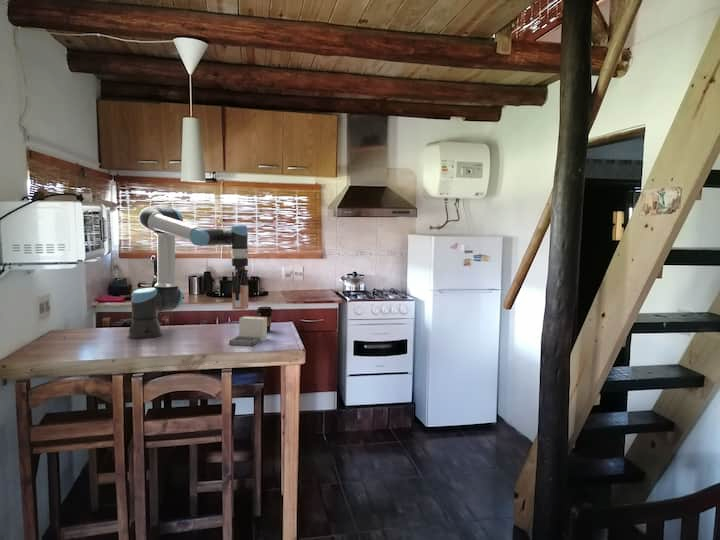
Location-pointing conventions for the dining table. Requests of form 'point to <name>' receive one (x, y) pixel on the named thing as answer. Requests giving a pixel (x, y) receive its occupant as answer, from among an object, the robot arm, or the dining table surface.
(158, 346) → the dining table surface
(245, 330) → the boxy square-sided block
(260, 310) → the coffee cup
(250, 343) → the tray
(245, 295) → the stub
